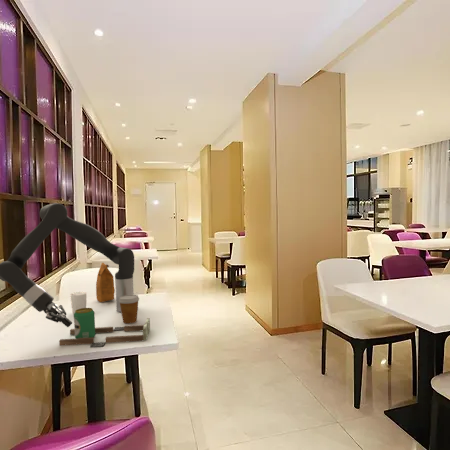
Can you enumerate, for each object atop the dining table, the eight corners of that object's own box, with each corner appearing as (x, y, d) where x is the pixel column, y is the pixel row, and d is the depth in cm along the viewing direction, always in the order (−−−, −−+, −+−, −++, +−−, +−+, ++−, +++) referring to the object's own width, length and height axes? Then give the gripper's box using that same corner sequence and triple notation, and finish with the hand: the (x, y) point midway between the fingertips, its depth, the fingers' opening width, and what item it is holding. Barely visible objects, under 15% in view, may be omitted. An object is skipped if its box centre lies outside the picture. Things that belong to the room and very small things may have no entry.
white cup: (87, 313, 188) (86, 294, 187) (71, 315, 185) (70, 296, 184) (87, 309, 195) (86, 291, 195) (71, 311, 192) (70, 292, 192)
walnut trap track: (74, 330, 161) (73, 319, 161) (151, 326, 164) (150, 315, 164) (55, 349, 139) (55, 336, 139) (144, 344, 142) (143, 331, 142)
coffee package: (111, 296, 222) (110, 261, 221) (116, 300, 212) (114, 263, 210) (95, 298, 218) (93, 263, 217) (98, 303, 207) (96, 265, 206)
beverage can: (72, 338, 151) (70, 310, 150) (90, 333, 157) (89, 306, 156) (79, 343, 145) (78, 314, 145) (98, 337, 151) (97, 309, 150)
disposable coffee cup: (143, 319, 175) (142, 294, 174) (133, 325, 166) (132, 299, 165) (126, 318, 178) (125, 294, 177) (115, 324, 168) (114, 298, 168)
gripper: (37, 295, 142) (71, 323, 144) (51, 287, 155) (81, 314, 157) (24, 309, 142) (58, 337, 144) (39, 300, 155) (69, 326, 157)
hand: (70, 325), depth 150 cm, fingers closed
